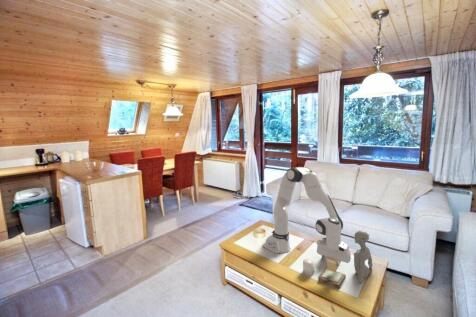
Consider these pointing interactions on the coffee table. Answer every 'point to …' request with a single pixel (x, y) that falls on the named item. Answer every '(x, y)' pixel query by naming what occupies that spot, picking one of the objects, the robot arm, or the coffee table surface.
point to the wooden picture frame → (331, 278)
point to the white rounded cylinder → (308, 267)
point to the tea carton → (332, 264)
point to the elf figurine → (362, 256)
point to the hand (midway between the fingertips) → (332, 263)
